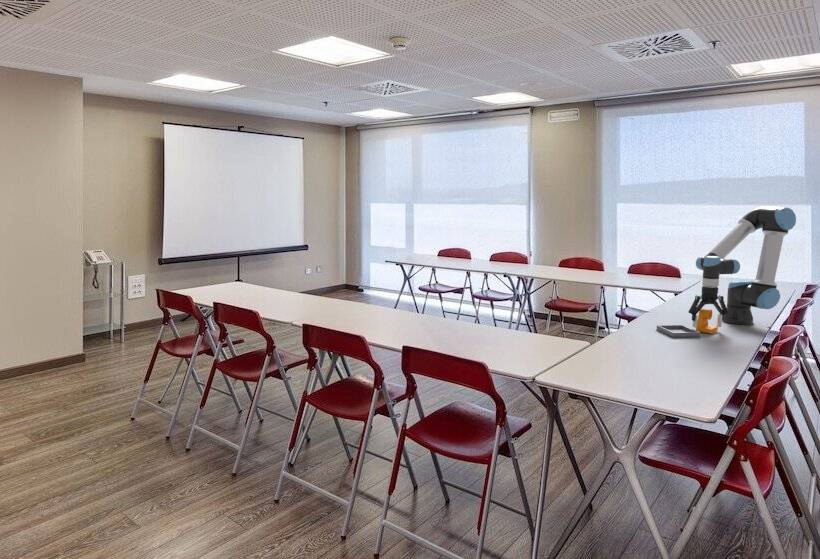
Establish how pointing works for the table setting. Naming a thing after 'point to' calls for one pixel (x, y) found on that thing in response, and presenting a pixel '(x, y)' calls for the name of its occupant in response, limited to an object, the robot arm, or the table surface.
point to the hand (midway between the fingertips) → (707, 326)
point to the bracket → (705, 322)
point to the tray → (678, 331)
